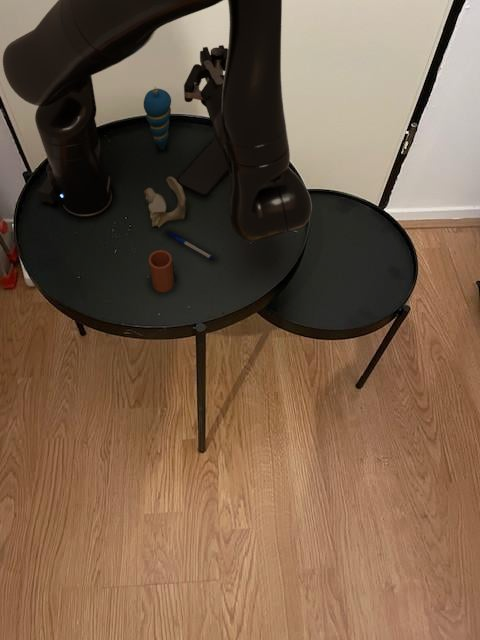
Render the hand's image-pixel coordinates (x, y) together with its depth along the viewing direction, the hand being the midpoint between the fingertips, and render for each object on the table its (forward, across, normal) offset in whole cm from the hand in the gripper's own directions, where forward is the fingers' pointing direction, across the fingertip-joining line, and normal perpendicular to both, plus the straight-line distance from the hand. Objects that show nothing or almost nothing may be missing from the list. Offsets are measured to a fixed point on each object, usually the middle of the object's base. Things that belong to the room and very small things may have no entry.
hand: (212, 51), depth 88 cm
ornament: (+8, +9, +26) cm, 29 cm away
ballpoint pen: (-18, +8, +26) cm, 33 cm away
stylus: (-3, 0, +12) cm, 12 cm away
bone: (-10, +12, +26) cm, 30 cm away
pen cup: (-24, +14, +26) cm, 38 cm away
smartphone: (+1, 0, +26) cm, 26 cm away
